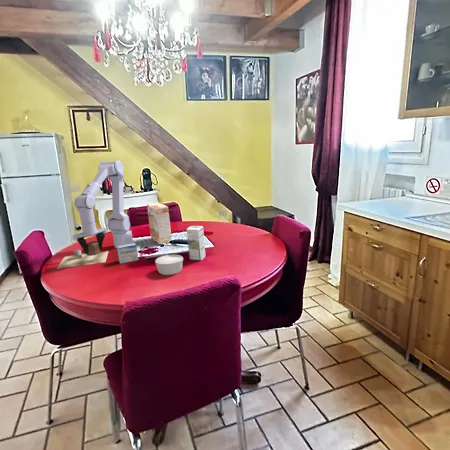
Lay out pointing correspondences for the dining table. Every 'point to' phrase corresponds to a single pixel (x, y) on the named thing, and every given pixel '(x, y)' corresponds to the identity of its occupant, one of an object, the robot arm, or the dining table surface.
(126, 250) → the medicine box
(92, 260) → the post board
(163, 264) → the ramekin
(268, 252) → the dining table surface
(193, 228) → the syrup box
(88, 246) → the walnut cap
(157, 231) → the coffeecake box
